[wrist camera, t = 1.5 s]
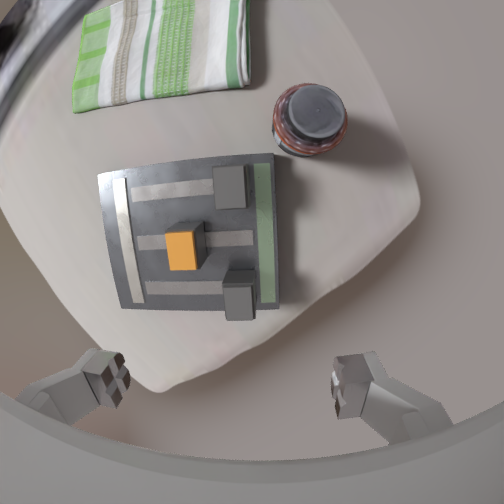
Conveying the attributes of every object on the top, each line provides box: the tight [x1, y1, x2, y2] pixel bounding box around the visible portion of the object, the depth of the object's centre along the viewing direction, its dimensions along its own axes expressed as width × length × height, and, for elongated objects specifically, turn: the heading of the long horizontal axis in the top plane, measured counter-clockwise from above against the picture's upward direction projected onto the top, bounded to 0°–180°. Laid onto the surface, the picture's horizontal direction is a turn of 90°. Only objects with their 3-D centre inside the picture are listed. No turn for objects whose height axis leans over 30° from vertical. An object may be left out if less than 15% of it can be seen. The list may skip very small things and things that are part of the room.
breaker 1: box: [212, 163, 251, 211], centre depth 25 cm, size 4×3×4 cm
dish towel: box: [72, 0, 251, 114], centre depth 23 cm, size 17×23×4 cm
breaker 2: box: [222, 270, 257, 321], centre depth 28 cm, size 4×3×4 cm
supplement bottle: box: [272, 83, 348, 157], centre depth 22 cm, size 6×6×11 cm
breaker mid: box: [165, 221, 207, 270], centre depth 27 cm, size 4×3×4 cm
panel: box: [98, 153, 279, 311], centre depth 30 cm, size 17×20×2 cm
